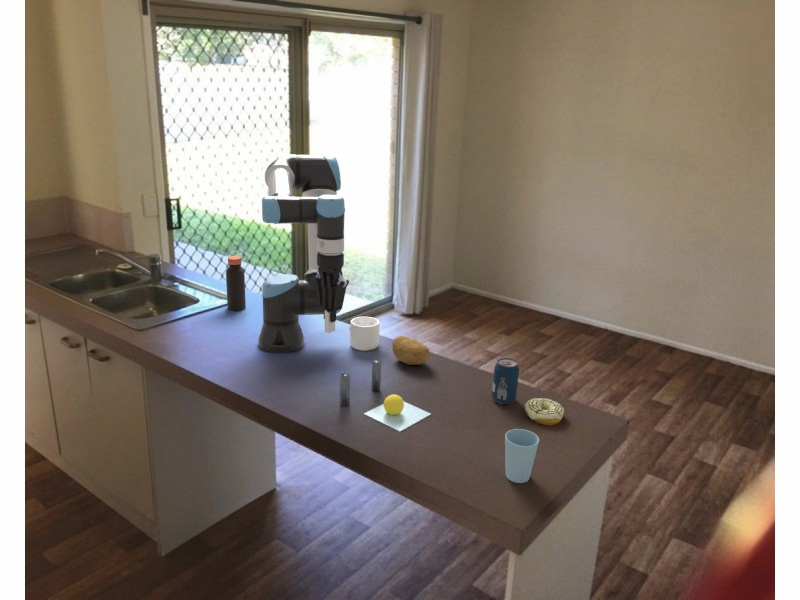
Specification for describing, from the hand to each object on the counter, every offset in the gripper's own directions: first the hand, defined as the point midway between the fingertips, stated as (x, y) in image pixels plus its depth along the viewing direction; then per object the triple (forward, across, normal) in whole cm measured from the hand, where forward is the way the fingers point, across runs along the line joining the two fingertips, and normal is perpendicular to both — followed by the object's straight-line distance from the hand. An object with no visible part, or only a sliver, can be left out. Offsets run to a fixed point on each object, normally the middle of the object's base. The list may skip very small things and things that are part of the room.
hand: (329, 331), depth 189 cm
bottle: (+17, -71, +18) cm, 75 cm away
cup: (+17, +66, -2) cm, 68 cm away
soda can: (+17, +43, +28) cm, 54 cm away
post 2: (+16, +13, +6) cm, 22 cm away
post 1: (+16, +13, -6) cm, 22 cm away
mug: (+17, -12, +28) cm, 35 cm away
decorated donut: (+17, +56, +28) cm, 65 cm away
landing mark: (+16, +27, 0) cm, 32 cm away
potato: (+17, +8, +28) cm, 34 cm away
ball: (+14, +26, -1) cm, 29 cm away
